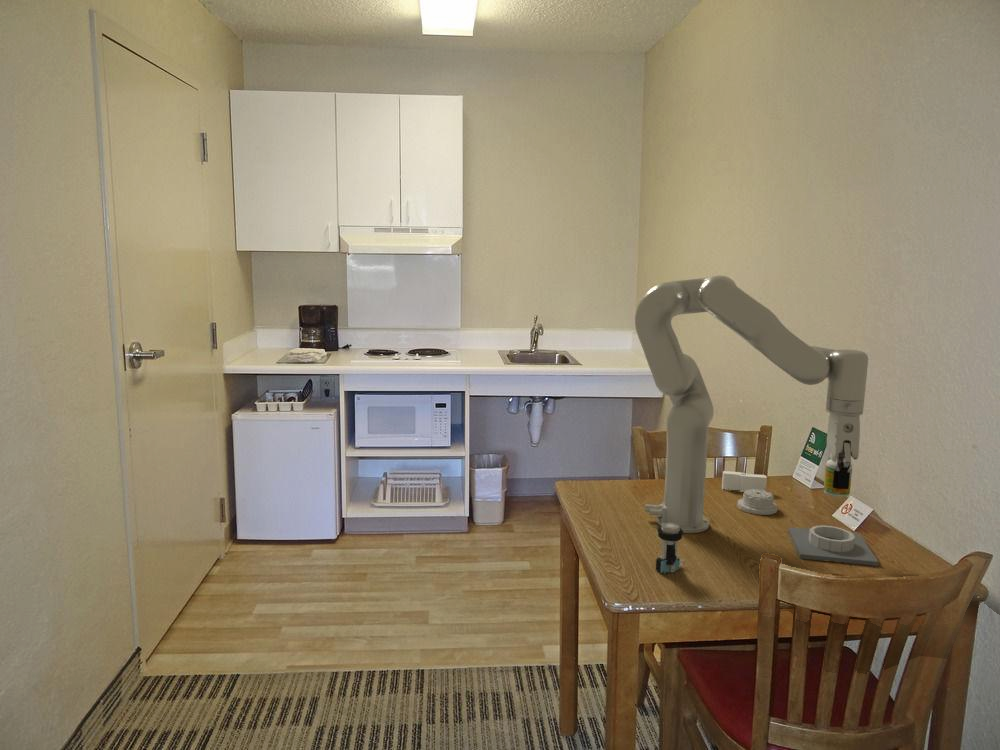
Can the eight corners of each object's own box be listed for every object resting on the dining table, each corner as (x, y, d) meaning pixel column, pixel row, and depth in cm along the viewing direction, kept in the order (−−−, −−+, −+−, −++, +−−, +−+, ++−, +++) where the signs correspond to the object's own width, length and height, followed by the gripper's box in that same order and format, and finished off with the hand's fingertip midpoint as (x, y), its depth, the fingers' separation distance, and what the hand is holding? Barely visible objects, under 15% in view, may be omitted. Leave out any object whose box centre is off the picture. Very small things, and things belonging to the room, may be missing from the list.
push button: (674, 561, 158) (676, 518, 156) (691, 571, 153) (694, 526, 151) (650, 567, 155) (652, 523, 153) (666, 577, 150) (669, 532, 148)
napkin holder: (776, 494, 203) (778, 475, 202) (755, 503, 196) (756, 483, 195) (729, 481, 214) (730, 462, 213) (707, 488, 207) (708, 469, 206)
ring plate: (799, 558, 160) (801, 543, 160) (788, 531, 176) (789, 517, 175) (878, 566, 157) (879, 551, 156) (859, 537, 172) (860, 523, 171)
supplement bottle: (819, 493, 164) (823, 452, 162) (828, 488, 168) (832, 447, 166) (844, 499, 160) (848, 457, 158) (853, 494, 164) (857, 452, 162)
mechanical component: (745, 516, 186) (783, 516, 186) (747, 499, 185) (785, 499, 185) (731, 502, 196) (767, 502, 196) (733, 486, 195) (769, 486, 195)
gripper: (873, 415, 151) (865, 498, 154) (853, 398, 168) (846, 473, 171) (835, 413, 153) (827, 495, 156) (818, 397, 169) (812, 471, 172)
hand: (837, 483), depth 163 cm, fingers closed on supplement bottle, 5 cm apart
